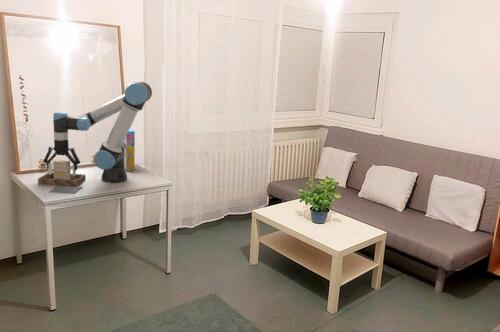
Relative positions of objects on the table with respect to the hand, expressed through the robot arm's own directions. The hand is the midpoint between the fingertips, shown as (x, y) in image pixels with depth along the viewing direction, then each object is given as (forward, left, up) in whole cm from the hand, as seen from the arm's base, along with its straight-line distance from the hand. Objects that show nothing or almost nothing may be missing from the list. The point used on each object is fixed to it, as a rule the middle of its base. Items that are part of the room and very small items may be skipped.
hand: (62, 174), depth 249 cm
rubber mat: (-7, +14, -4) cm, 16 cm away
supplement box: (0, 0, -5) cm, 5 cm away
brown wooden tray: (0, 0, -4) cm, 4 cm away
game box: (-27, -43, -5) cm, 51 cm away
